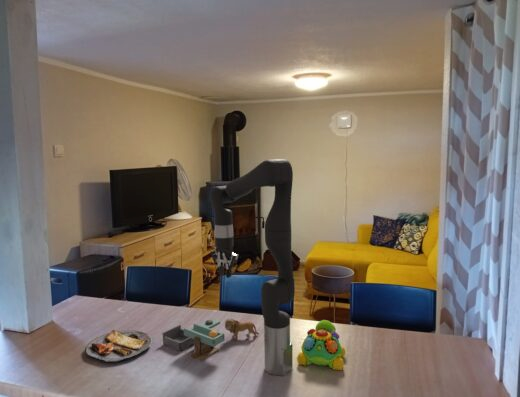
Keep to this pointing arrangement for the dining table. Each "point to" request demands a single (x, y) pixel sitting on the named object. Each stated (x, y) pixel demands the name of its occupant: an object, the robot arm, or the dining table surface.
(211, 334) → the ball
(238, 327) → the lion figurine
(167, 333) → the tray
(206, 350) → the fulcrum
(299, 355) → the turtle toy
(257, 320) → the dining table surface
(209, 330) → the lever
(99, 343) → the food plate
